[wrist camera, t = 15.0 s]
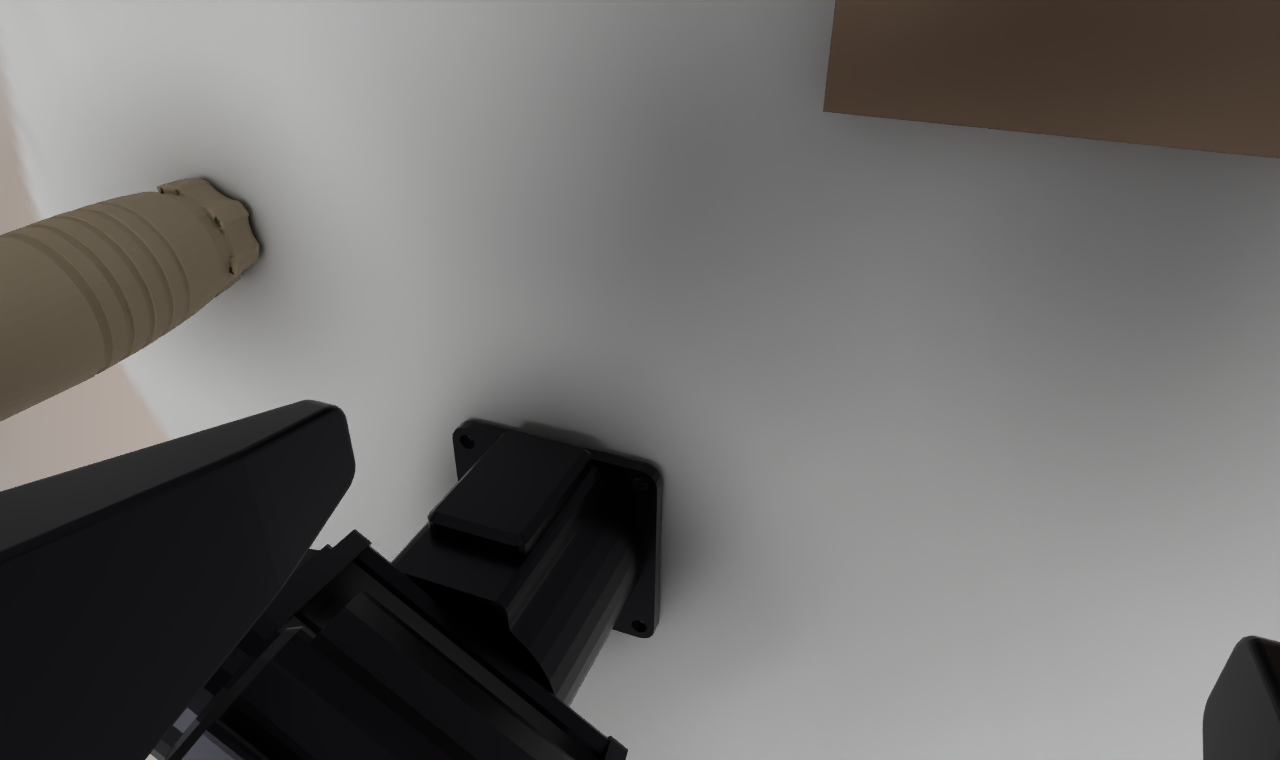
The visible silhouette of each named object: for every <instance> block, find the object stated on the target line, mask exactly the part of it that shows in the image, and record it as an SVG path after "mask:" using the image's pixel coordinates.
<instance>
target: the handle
mask: <svg viewBox="0 0 1280 760" xmlns="http://www.w3.org/2000/svg"><path fill="white" fill-rule="evenodd" d="M157 188H158V190H159V193H158V192H143V193H137V194H132V195H127V196H122V197H118V198H114V199H110V200H106V201H102V202H99V203H96V204H93V205H89V206H85V207H82V208H79V209H76V210H73V211H69V212H66V213H62V214H59V215H56V216H53V217H50V218H48V219H44V220H41V221H39V222H36V223H33V224H31V225H28V226H25V227H23V228H19V229H17V230H14V231H11V232H8V233H6V234H3V235H1V236H0V421H3V420H5V419H7V418H9V417H11V416H13V415H15V414H17V413H19V412H21V411H23V410H25V409H28V408H30V407H31V406H34V405H36V404H38V403H40V402H42V401H44V400H46V399H48V398H50V397H52V396H55V395H57V394H59V393H61V392H63V391H65V390H67V389H69V388H71V387H73V386H75V385H78V384H80V383H82V382H83V381H86V380H88V379H90V378H91V377H94V376H95V375H96V374H99V373H100V372H102V371H104V370H106V369H108V368H109V367H111V366H113V365H115V364H116V363H118V362H120V361H122V360H123V359H125V358H127V357H129V356H130V355H132V354H134V353H136V352H137V351H139V350H140V349H142V348H144V347H146V346H147V345H149V344H151V343H152V342H154V341H155V340H157V339H158V338H159V337H161V336H163V335H165V334H166V333H168V332H169V331H171V330H172V329H174V328H175V327H176V326H178V325H180V324H181V323H183V322H184V321H185V320H187V319H188V318H190V317H191V316H192V315H194V314H195V313H196V312H198V311H199V310H200V309H201V308H203V307H204V306H205V305H206V304H207V303H209V302H210V301H211V300H212V299H213V298H214V297H216V296H218V295H219V294H221V293H222V292H224V291H225V290H226V289H228V288H229V287H231V286H232V285H233V284H234V283H235V282H236V281H238V280H239V279H240V277H241V275H242V271H244V270H245V269H247V268H248V267H250V266H251V265H252V264H253V263H255V262H256V261H257V260H258V257H259V243H258V242H257V241H256V239H255V238H254V236H253V234H252V231H251V229H250V225H249V221H248V216H249V214H248V212H247V210H246V209H245V207H244V206H243V205H242V203H241V202H240V201H238V200H232V199H230V198H228V197H226V196H224V195H222V194H221V193H219V192H218V191H216V190H215V189H214V188H213V187H212V186H211V184H210V183H209V182H207V181H204V180H202V179H198V178H192V179H185V180H179V181H175V182H171V183H167V184H163V185H160V186H158V187H157Z"/></svg>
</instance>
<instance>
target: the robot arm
mask: <svg viewBox="0 0 1280 760" xmlns="http://www.w3.org/2000/svg"><path fill="white" fill-rule="evenodd" d="M468 436H470V437H471V438H472V439H473V440H474V441H472V440H471V439H470V438H469V437H468ZM453 445H454V453H455V461H456V469H457V477H458V482H457V484H456V485H455V486H454V487H453V488H452V489H451V490H450V491H449V492H448V493H447V494H446V496H445V497H444V498H443V499H442V500H441V501H440V502H439V503H438V504H437V505H436V506H435V507H434V509H433V510H432V511H431V512H430V513H429V515H428V523H427V524H426V525H425V526H424V527H423V528H422V529H421V530H420V531H419V532H418V533H417V535H416V536H415V537H414V538H413V539H412V540H411V541H410V542H409V543H408V544H407V546H406V547H405V548H404V549H403V550H402V551H401V552H400V553H399V554H398V555H397V557H396V558H395V559H394V560H393V561H392V562H391V563H390V562H389V561H388V560H387V559H385V558H384V557H383V556H382V555H380V554H379V553H378V552H377V551H375V550H374V549H373V548H372V547H370V545H371V544H372V543H371V542H370V541H369V540H368V539H367V538H365V537H364V536H363V535H362V534H360V533H359V532H358V531H357V530H355V529H354V530H353V531H352V532H351V533H350V534H348V535H347V536H346V537H345V538H344V539H343V540H341V541H340V542H339V543H338V544H337V545H336V546H334V547H333V548H332V547H331V546H330V545H329V544H327V545H326V546H325V547H323V548H322V549H321V550H313V549H309V548H310V546H311V545H312V543H313V542H314V540H315V539H316V537H317V536H318V534H319V533H320V531H321V530H322V528H323V526H324V525H325V523H326V522H327V520H328V519H329V517H330V516H331V514H332V513H333V511H334V510H335V508H336V507H337V505H338V504H339V502H340V501H341V499H342V498H343V496H344V495H345V493H346V491H347V490H348V488H349V487H350V485H351V483H352V480H353V478H354V474H355V459H354V454H353V449H352V444H351V439H350V434H349V429H348V424H347V419H346V416H345V414H344V413H343V411H342V410H341V409H340V408H339V407H337V406H335V405H331V404H327V403H323V402H319V401H315V400H303V401H299V402H296V403H293V404H289V405H286V406H283V407H279V408H276V409H273V410H270V411H266V412H263V413H260V414H256V415H253V416H250V417H246V418H243V419H240V420H236V421H233V422H230V423H226V424H223V425H220V426H216V427H213V428H210V429H207V430H203V431H200V432H197V433H193V434H190V435H187V436H183V437H180V438H177V439H173V440H170V441H167V442H163V443H160V444H157V445H154V446H150V447H147V448H144V449H140V450H137V451H134V452H130V453H127V454H124V455H120V456H117V457H114V458H111V459H107V460H104V461H101V462H98V463H94V464H91V465H88V466H84V467H81V468H77V469H74V470H71V471H68V472H64V473H61V474H58V475H54V476H51V477H47V478H44V479H41V480H38V481H34V482H31V483H28V484H24V485H21V486H18V487H14V488H11V489H8V490H4V491H1V492H0V760H145V759H146V758H147V757H148V755H149V754H151V755H153V756H154V757H155V758H156V759H158V760H625V759H626V756H627V752H628V749H627V748H625V747H624V746H623V745H622V744H620V743H619V742H618V741H617V740H615V739H614V738H613V737H612V736H609V737H606V736H605V735H603V734H602V733H601V732H600V731H598V730H597V729H596V728H595V727H593V726H592V725H591V724H590V723H588V722H587V721H586V720H585V719H583V718H582V717H581V716H580V715H579V714H577V713H576V712H575V711H574V710H572V709H571V708H570V707H569V706H570V704H571V702H572V700H573V699H574V697H575V695H576V693H577V691H578V690H579V688H580V686H581V684H582V682H583V681H584V679H585V677H586V675H587V673H588V672H589V670H590V668H591V666H592V664H593V662H594V661H595V659H596V657H597V655H598V653H599V652H600V650H601V648H602V646H603V644H604V643H605V641H606V639H607V637H608V635H609V633H610V632H611V630H612V629H613V630H617V631H620V632H623V633H626V634H630V635H633V636H636V637H640V638H649V637H651V636H652V635H653V633H654V631H655V629H656V627H657V625H658V622H659V590H660V550H661V511H662V477H661V475H660V473H659V471H658V470H657V469H656V468H655V467H653V466H652V465H650V464H647V463H644V462H640V461H636V460H632V459H628V458H624V457H620V456H615V455H611V454H607V453H603V452H599V451H595V450H591V449H587V448H582V447H578V446H574V445H570V444H566V443H562V442H558V441H554V440H549V439H545V438H541V437H537V436H533V435H529V434H525V433H520V432H516V431H512V430H508V429H504V428H500V427H496V426H492V425H487V424H483V423H479V422H475V421H465V422H463V423H462V424H461V425H460V426H459V427H458V428H457V429H456V430H455V431H454V433H453ZM638 478H641V479H644V480H645V481H646V482H647V483H648V485H645V484H643V483H641V482H640V481H639V480H638ZM639 620H640V621H639ZM641 621H642V622H641ZM1203 760H1280V642H1278V641H1274V640H1270V639H1266V638H1262V637H1258V636H1247V637H1244V638H1242V639H1241V640H1240V641H1239V642H1238V643H1237V644H1236V646H1235V648H1234V649H1233V651H1232V653H1231V655H1230V657H1229V659H1228V661H1227V663H1226V665H1225V667H1224V669H1223V670H1222V672H1221V674H1220V676H1219V678H1218V680H1217V682H1216V684H1215V686H1214V688H1213V690H1212V692H1211V694H1210V695H1209V698H1208V700H1207V703H1206V706H1205V711H1204V716H1203Z"/></svg>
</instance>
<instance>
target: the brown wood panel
mask: <svg viewBox="0 0 1280 760" xmlns="http://www.w3.org/2000/svg"><path fill="white" fill-rule="evenodd" d="M823 112H833V113H842V114H852V115H862V116H872V117H881V118H891V119H901V120H910V121H920V122H930V123H940V124H949V125H959V126H969V127H979V128H988V129H998V130H1008V131H1018V132H1027V133H1037V134H1047V135H1056V136H1066V137H1076V138H1086V139H1095V140H1105V141H1115V142H1125V143H1134V144H1144V145H1154V146H1164V147H1173V148H1183V149H1193V150H1202V151H1212V152H1222V153H1232V154H1241V155H1251V156H1261V157H1271V158H1280V0H836V3H835V12H834V21H833V30H832V38H831V47H830V56H829V65H828V73H827V82H826V91H825V100H824V108H823Z"/></svg>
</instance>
